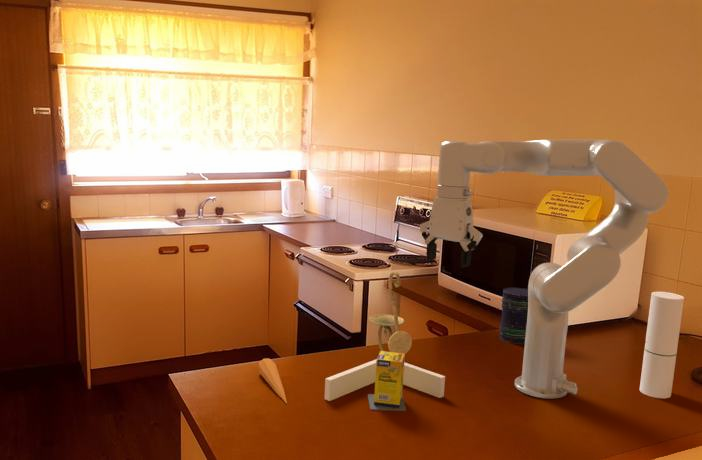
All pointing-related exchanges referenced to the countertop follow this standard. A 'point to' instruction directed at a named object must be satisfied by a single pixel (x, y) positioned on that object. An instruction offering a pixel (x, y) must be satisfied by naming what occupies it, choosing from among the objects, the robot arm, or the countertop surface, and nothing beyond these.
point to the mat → (384, 408)
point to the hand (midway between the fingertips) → (447, 263)
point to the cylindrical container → (661, 344)
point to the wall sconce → (392, 324)
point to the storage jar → (514, 315)
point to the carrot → (272, 376)
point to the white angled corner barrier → (367, 375)
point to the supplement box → (389, 379)
